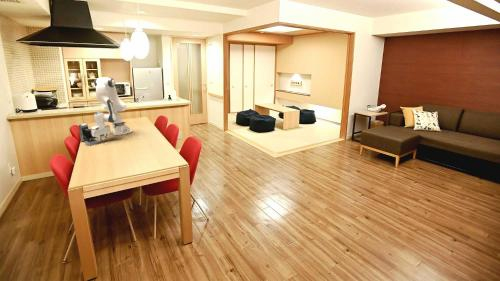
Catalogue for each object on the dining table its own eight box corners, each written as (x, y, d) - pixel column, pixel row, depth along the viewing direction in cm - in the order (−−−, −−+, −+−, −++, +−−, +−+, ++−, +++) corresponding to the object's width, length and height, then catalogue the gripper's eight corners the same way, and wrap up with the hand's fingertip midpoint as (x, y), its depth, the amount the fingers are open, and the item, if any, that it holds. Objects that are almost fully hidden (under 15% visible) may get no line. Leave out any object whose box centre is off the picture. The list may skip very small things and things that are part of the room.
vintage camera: (92, 143, 295) (90, 125, 289) (80, 141, 298) (78, 124, 292) (99, 140, 304) (96, 123, 298) (87, 139, 307) (84, 122, 301)
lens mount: (93, 142, 295) (92, 138, 294) (98, 143, 291) (97, 140, 290) (85, 144, 288) (84, 141, 287) (90, 145, 284) (89, 142, 282)
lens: (103, 140, 302) (102, 133, 300) (106, 141, 300) (105, 134, 297) (99, 141, 298) (98, 134, 296) (102, 142, 296) (101, 135, 293)
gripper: (107, 124, 304) (109, 136, 308) (89, 128, 287) (92, 140, 291) (111, 125, 301) (112, 136, 305) (93, 128, 284) (95, 141, 288)
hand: (102, 138), depth 298 cm, fingers open, 8 cm apart
